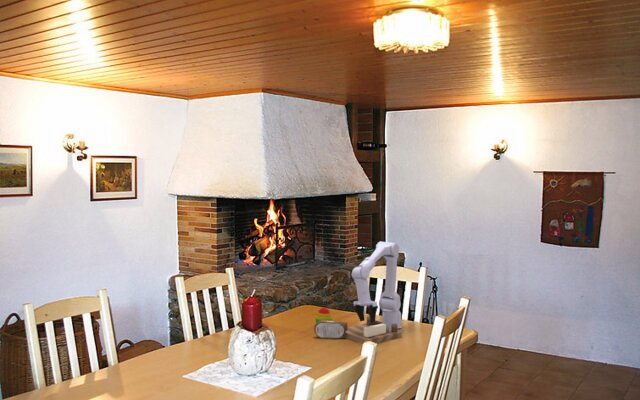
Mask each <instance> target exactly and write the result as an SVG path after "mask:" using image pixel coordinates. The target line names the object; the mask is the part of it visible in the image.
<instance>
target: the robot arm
mask: <svg viewBox="0 0 640 400" xmlns="http://www.w3.org/2000/svg"><path fill="white" fill-rule="evenodd" d="M399 254H400V246H399V245H398V243H397V242H390V241H389V242H387V241H379V242H377V244H376V245H375V250H374V251H373V252H372V254H371V255H370V256H368V257H365V258H364V259H363V261H361V263H360V264H359V265H358V266H356V267H354V268H353V269H352V272H351V277H352V279H353V280H354V284H355V287H356V294H357V300H356V301H355V300H354V301H353V311H355V313H356V314H357V317H358V319H359V321H360V322H365V308H366V311H367V312H368V317H370V320H371V322H374V321H375V320H376V316H377V312H378V311H377V310H378V309H379V308H380V310H381V311H382V321H381V322H383V323H389V328H390V329H391V324H398V330H399V329H401V328H402V329H403V326H402V313H401V311H400V308H401V305H402V304H401V303H402V302H401V295H400V294H398V292H396V285H397V283H396V282H397V267H398V265H397V264H398V259H399ZM382 257H384V259H385V260H386V267H385V284H384V291H383V292H382V293H381V294H380V296H379V297H380V298H379V300H378V303H377V301H374V300H371V296H370V295H371V294H370V293H371V292H370V288H369V282H368V278H369V277H370V273H371V271H373V269H374V268H375V266H376V262H377V261H378V260H380V258H382Z"/></svg>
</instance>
